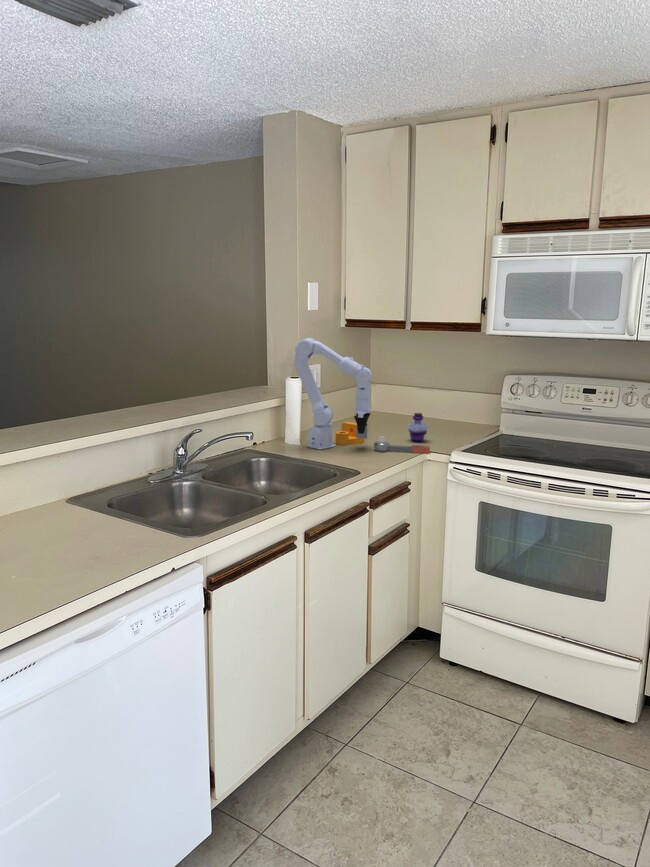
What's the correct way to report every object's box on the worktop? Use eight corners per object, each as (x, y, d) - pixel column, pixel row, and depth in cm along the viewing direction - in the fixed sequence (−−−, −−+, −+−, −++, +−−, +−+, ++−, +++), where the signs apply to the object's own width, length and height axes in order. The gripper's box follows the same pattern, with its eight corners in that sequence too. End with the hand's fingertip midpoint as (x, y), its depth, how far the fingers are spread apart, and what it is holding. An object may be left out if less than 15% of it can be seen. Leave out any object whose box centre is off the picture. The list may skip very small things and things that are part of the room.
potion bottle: (431, 441, 281) (433, 413, 279) (418, 444, 276) (419, 415, 273) (416, 437, 288) (417, 410, 285) (402, 440, 282) (403, 412, 280)
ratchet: (373, 451, 262) (373, 438, 261) (374, 448, 268) (374, 434, 267) (429, 454, 259) (430, 440, 258) (429, 450, 265) (430, 437, 264)
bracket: (366, 424, 277) (348, 429, 268) (365, 441, 279) (348, 446, 270) (345, 421, 284) (328, 425, 275) (345, 438, 285) (327, 442, 276)
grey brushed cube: (355, 437, 264) (356, 425, 263) (357, 435, 268) (357, 423, 267) (366, 438, 263) (367, 426, 262) (368, 436, 268) (368, 424, 267)
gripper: (371, 402, 255) (370, 436, 258) (374, 396, 269) (373, 428, 272) (353, 401, 256) (352, 435, 259) (357, 395, 270) (356, 428, 273)
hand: (361, 432), depth 265 cm, fingers closed on grey brushed cube, 4 cm apart
